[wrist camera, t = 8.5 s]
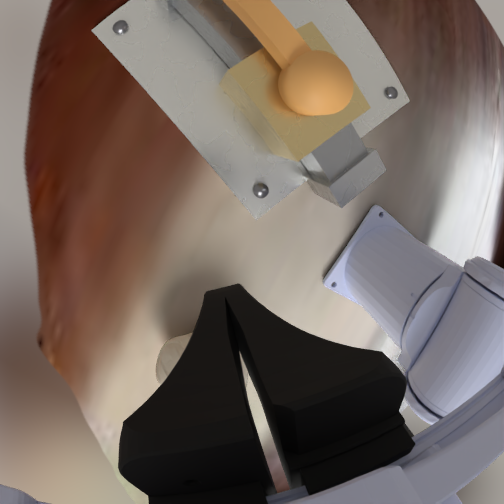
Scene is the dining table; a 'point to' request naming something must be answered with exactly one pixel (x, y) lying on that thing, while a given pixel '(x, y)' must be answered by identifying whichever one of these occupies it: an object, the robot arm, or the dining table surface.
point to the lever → (297, 61)
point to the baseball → (178, 357)
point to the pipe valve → (278, 113)
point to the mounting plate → (219, 103)
